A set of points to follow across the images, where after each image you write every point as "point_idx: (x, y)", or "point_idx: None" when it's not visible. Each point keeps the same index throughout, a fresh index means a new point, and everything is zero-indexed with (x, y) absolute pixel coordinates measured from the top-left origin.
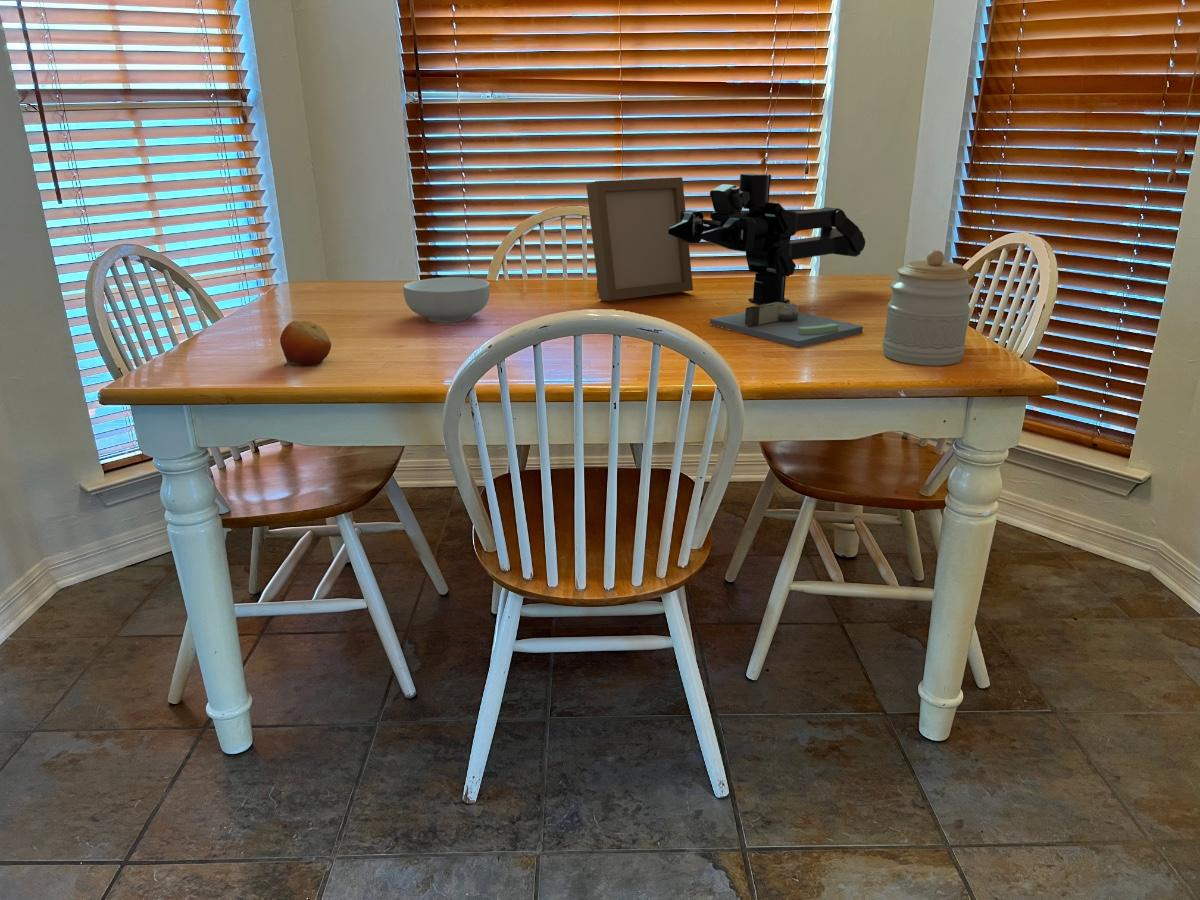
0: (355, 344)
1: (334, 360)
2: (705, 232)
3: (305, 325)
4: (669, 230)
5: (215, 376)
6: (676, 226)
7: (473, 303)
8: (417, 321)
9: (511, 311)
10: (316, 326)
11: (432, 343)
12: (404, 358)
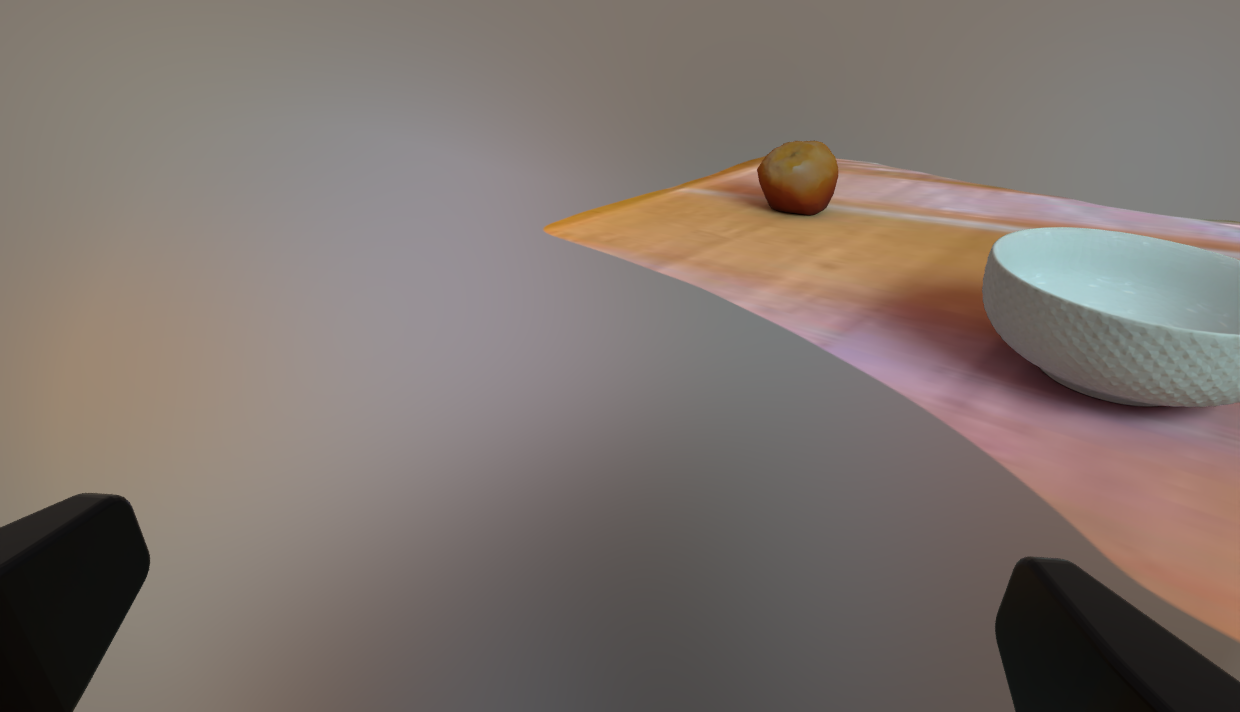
0: (885, 247)
1: (787, 220)
2: (18, 521)
3: (792, 146)
4: (1012, 576)
5: None
6: (1140, 700)
7: (1000, 316)
8: None
9: (1202, 510)
10: (799, 156)
11: (818, 289)
12: (733, 250)
